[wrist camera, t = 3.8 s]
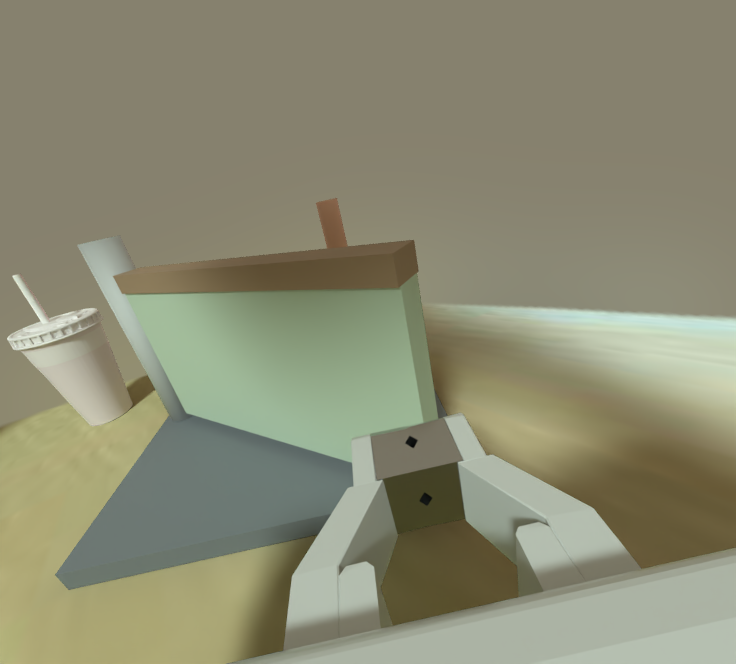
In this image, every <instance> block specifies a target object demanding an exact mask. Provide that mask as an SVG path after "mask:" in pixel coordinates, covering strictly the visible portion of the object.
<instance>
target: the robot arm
mask: <svg viewBox="0 0 736 664" xmlns="http://www.w3.org/2000/svg"><path fill="white" fill-rule="evenodd" d="M351 451H352V468H353V485H354V486H353V487H349V488H347V490H346V491H345V493H344V495H343V496H342V498H341V499H340V501H339V503H338V504H337V506H336V507H335V509H334V510H333V512H332V514H331V515H330V517H329V518H328V520H327V522H326V523H325V525H324V526H323V528H322V529H321V531H320V533H319V534H318V536H317V537H316V539H315V541H314V542H313V544H312V545H311V547H310V548H309V550H308V552H307V553H306V555H305V556H304V558H303V560H302V561H301V563H300V564H299V566H298V567H297V569H296V571H295V572H294V574H293V575H292V580H291V589H290V597H289V606H288V614H287V623H286V632H285V640H284V649H283V651H280V652H276V653H271V654H267V655H262V656H258V657H254V658H249V659H245V660H241V661H236V662H232V663H227V664H736V548H731V549H727V550H723V551H718V552H714V553H709V554H705V555H701V556H696V557H692V558H687V559H683V560H679V561H674V562H670V563H666V564H661V565H657V566H652V567H648V568H644V569H642V568H641V567H640V566H639V565H638V563H637V562H636V561H635V560H634V558H633V557H632V556H631V555H630V553H629V552H628V551H627V550H626V548H625V547H624V546H623V545H622V543H621V542H620V541H619V540H618V538H617V537H616V536H615V535H614V533H613V532H612V531H611V530H610V528H609V527H608V526H607V525H606V523H605V522H604V521H603V520H602V518H601V517H600V516H599V515H598V513H597V512H596V511H595V510H594V508H592V507H590V506H588V505H587V504H585V503H583V502H581V501H579V500H577V499H575V498H573V497H572V496H570V495H568V494H566V493H564V492H562V491H560V490H558V489H557V488H555V487H553V486H551V485H549V484H547V483H545V482H543V481H542V480H540V479H538V478H536V477H534V476H532V475H530V474H529V473H527V472H525V471H523V470H521V469H519V468H517V467H515V466H514V465H512V464H510V463H508V462H506V461H504V460H502V459H500V458H499V457H497V456H495V455H488V456H487V455H486V453H485V451H484V450H483V448H482V446H481V444H480V442H479V441H478V439H477V437H476V435H475V434H474V432H473V430H472V428H471V427H470V425H469V423H468V421H467V420H466V418H465V416H464V414H462V413H457V414H453V415H450V416H446V417H443V418H439V419H435V420H431V421H427V422H423V423H418V424H414V425H410V426H405V427H400V428H395V429H390V430H386V431H381V432H376V433H371V434H368V435H363V436H358V437H353V438H352V440H351ZM462 519H466V521H467V522H468V523H469V524H470V525H471V526H473V527H474V528H475V529H476V530H477V531H478V532H479V533H480V534H481V535H483V536H484V537H485V538H486V539H487V540H488V541H489V542H490V543H492V544H493V545H494V546H495V547H496V548H497V549H498V550H499V551H500V552H502V553H503V554H504V555H505V556H506V557H507V558H508V559H509V560H510V561H512V562H513V563H514V564H515V565H516V566H517V572H518V591H519V597H517V598H512V599H508V600H504V601H499V602H495V603H491V604H486V605H482V606H477V607H473V608H469V609H464V610H460V611H456V612H451V613H447V614H442V615H438V616H434V617H429V618H425V619H420V620H416V621H412V622H407V623H403V624H399V625H394V626H393V624H392V621H391V618H390V615H389V612H388V609H387V606H386V603H385V599H384V596H383V593H382V590H381V585H382V582H383V579H384V576H385V574H386V571H387V568H388V565H389V562H390V559H391V556H392V553H393V550H394V547H395V544H396V541H397V538H398V535H397V534H401V533H405V532H409V531H412V530H416V529H420V528H424V527H428V526H432V525H437V524H442V523H447V522H452V521H457V520H462Z"/></svg>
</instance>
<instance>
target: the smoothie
mask: <svg viewBox="0 0 736 664" xmlns="http://www.w3.org/2000/svg"><path fill="white" fill-rule="evenodd" d="M12 277H13V278H14V280H15V282H16V283H17V285H18V286H19V288H20V289H21V291H22V293H23V294H24V296H25V297H26V299H27V300H28V302H29V303H30V305H31V307H32V308H33V310H34V311H35V312H36V314H37V316H38V317H39V319H40V320H41V322H38V323H35V324H33V325H30V326H27V327H25V328H23V329H21V330H19V331H16V332H14V333H13V334H11V335H10V336H8V338H7V340H8V341H9V343H10V344H11V346H12V348H13V350H20V351H21V352H22V353H23V354H24V355H25V356H26V357H27V358H28V359H29V360H30V362H31V363H32V364H33V365H34V366H35V367H36V368H37V369H38V370H39V371H40V372H41V373H42V374H43V375H44V376H45V377H46V379H48V381H49V382H50V383H51V384H52V385H53V386H54V387H55V388H56V389H57V390H58V391H59V393H61V395H62V396H63V397H64V398H65V399H66V400H67V401H68V402H69V403H70V404H71V405H72V407H73V408H74V409H75V410H76V411H77V412H78V413H79V414H80V415H81V416H82V417H83V418H84V419H85V420H86V422H87V423H88V424H89V425H91V426H98V425H102V424H105V423H108V422H110V421H112V420H114V419H116V418H118V417H120V416H122V415H123V414H124V413H126V412H127V411H128V410H129V409H130V408H131V407H132V405H133V403H132V401H131V398H130V395H129V393H128V390H127V388H126V385H125V383H124V380H123V378H122V375H121V373H120V370H119V367H118V365H117V363H116V360H115V357H114V355H113V352H112V350H111V347H110V344H109V342H108V339H107V336H106V334H105V332H104V329H103V327H102V324H101V321H102V320H103V317H102V316H101V314H100V313H99V311H98V309H96V308H88V309H82V310H77V311H74V312H70V313H66V314H62V315H59V316H56V317H52V318H48V316H47V315H46V313H45V311H44V310H43V308H42V307H41V305H40V303H39V302H38V300H37V299H36V297H35V296H34V294H33V292H32V291H31V289H30V288H29V286H28V284H27V283H26V281H25V280H24V278H23V276H22V275H21V274H17V275H13V276H12Z"/></svg>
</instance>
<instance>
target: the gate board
mask: <svg viewBox="0 0 736 664" xmlns="http://www.w3.org/2000/svg"><path fill="white" fill-rule="evenodd" d="M316 205H317V209H318V212H319V217H320V221H321V225H322V229H323V233H324V236H325V241H326V244H327V249H328V248H338V247H348V246H347V241H346V237H345V233H344V229H343V224H342V219H341V215H340V210H339V206H338V201H337V198H335V199H329V200H325V201H321V202H317V203H316ZM77 246H78V247H79V249H80V251H81V253H82V255H83V257H84V259H85V260H86V262H87V264H88V266H89V268H90V270H91V272H92V273H93V275H94V277H95V279H96V281H97V282H98V285H99V286H100V288H101V290H102V292H103V294H104V296H105V297H106V299H107V301H108V303H109V305H110V307H111V309H112V310H113V312H114V314H115V316H116V318H117V320H118V321H119V323H120V325H121V327H122V329H123V330H124V333H125V334H126V336H127V338H128V340H129V342H130V343H131V345H132V347H133V349H134V351H135V353H136V355H137V357H138V358H139V360H140V362H141V364H142V366H143V367H144V369H145V371H146V373H147V375H148V377H149V379H150V380H151V382H152V384H153V386H154V388H155V390H156V392H157V393H158V395H159V397H160V399H161V401H162V403H163V404H164V406H165V408H166V410H167V412H168V414H169V417H168V418H167V419H166V421H165V422H164V424H163V425H162V426H161V428H160V429H159V431H158V432H157V433H156V435H155V436H154V438H153V439H152V440H151V442H150V443H149V445H148V446H147V447H146V449H145V450H144V452H143V453H142V454H141V456H140V457H139V459H138V460H137V461H136V463H135V464H134V466H133V467H132V468H131V470H130V471H129V473H128V474H127V475H126V477H125V478H124V479H123V481H122V482H121V484H120V485H119V486H118V488H117V489H116V491H115V492H114V493H113V495H112V496H111V498H110V499H109V500H108V502H107V503H106V505H105V506H104V507H103V509H102V510H101V512H100V513H99V514H98V516H97V517H96V519H95V520H94V521H93V523H92V524H91V526H90V527H89V528H88V530H87V531H86V533H85V534H84V535H83V537H82V538H81V540H80V541H79V542H78V544H77V545H76V546H75V548H74V549H73V551H72V552H71V553H70V555H69V556H68V558H67V559H66V560H65V562H64V563H63V565H62V566H61V567H60V569H59V570H58V572H57V573H56V574H55V576H56V577H57V578H58V579H59V580H60V581H61V582H62V583H63V584H64V585H65V586H66V587H67V588H68V590H70V589H74V588H79V587H83V586H88V585H92V584H97V583H101V582H106V581H110V580H115V579H119V578H124V577H128V576H133V575H137V574H142V573H146V572H151V571H155V570H160V569H164V568H169V567H173V566H178V565H182V564H187V563H191V562H196V561H200V560H205V559H209V558H214V557H218V556H223V555H227V554H232V553H236V552H241V551H245V550H250V549H254V548H259V547H263V546H268V545H272V544H277V543H281V542H286V541H290V540H295V539H299V538H304V537H308V536H313V535H317V534H319V533H320V531H321V529H322V528H323V526H324V525H325V523H326V522H327V520H328V518H329V517H330V515H331V514H332V512H333V510H334V509H335V507H336V506H337V504H338V503H339V501H340V499H341V498H342V496H343V495H344V493H345V491H346V490H347V488H349V487H353V486H354V485H353V468H352V463H351V462H348V461H344V460H341V459H338V458H334V457H331V456H328V455H324V454H321V453H318V452H314V451H311V450H308V449H304V448H301V447H298V446H294V445H291V444H288V443H284V442H281V441H278V440H274V439H271V438H268V437H264V436H261V435H258V434H254V433H251V432H248V431H244V430H241V429H238V428H234V427H231V426H228V425H224V424H221V423H218V422H214V421H211V420H208V419H204V418H201V417H198V416H194V415H191V414H188V413H186V412H185V410H184V408H183V406H182V404H181V402H180V400H179V398H178V396H177V394H176V392H175V390H174V388H173V386H172V385H171V383H170V381H169V379H168V377H167V375H166V373H165V371H164V369H163V367H162V365H161V363H160V361H159V359H158V357H157V355H156V353H155V352H154V350H153V348H152V346H151V344H150V342H149V340H148V338H147V336H146V334H145V332H144V330H143V328H142V326H141V324H140V322H139V320H138V319H137V317H136V315H135V313H134V311H133V309H132V307H131V305H130V303H129V301H128V299H127V297H126V295H125V294H122V293H121V291H120V289H119V287H118V285H117V283H116V281H115V279H114V278H113V276H114V275H118V274H121V273H124V272H127V271H130V270H134V269H136V268H135V265H134V263H133V261H132V259H131V257H130V255H129V253H128V251H127V249H126V247H125V245H124V243H123V241H122V239H121V237H120V236H115V237H111V238H106V239H101V240H97V241H92V242H88V243H84V244H79V245H77ZM434 392H435V389H434ZM435 399H436V406H437V413H438V419H439V418H443V417H446V416H447V414H446V412H445V410H444V408H443V406H442V404H441V402H440V400H439V398H438V396H437V394H436V392H435Z"/></svg>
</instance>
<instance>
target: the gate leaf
mask: <svg viewBox="0 0 736 664" xmlns="http://www.w3.org/2000/svg"><path fill="white" fill-rule="evenodd" d="M417 272H418V264H417V258H416V250H415V244H414V240H408V241H399V242H388V243H378V244H369V245H358V246H348V247H338V248H328V249H319V250H308V251H299V252H289V253H279V254H269V255H259V256H249V257H239V258H229V259H219V260H209V261H199V262H190V263H179V264H169V265H159V266H149V267H140V268H137V269H134V270H130V271H127V272H124V273H121V274H118V275H114V276H113V278H114V279H115V281H116V283H117V285H118V287H119V289H120V291H121V293H122V294H125V295H126V297H127V299H128V301H129V303H130V305H131V307H132V309H133V311H134V313H135V315H136V317H137V319H138V320H139V322H140V324H141V326H142V328H143V330H144V332H145V334H146V336H147V338H148V340H149V342H150V344H151V346H152V348H153V350H154V352H155V353H156V355H157V357H158V359H159V361H160V363H161V365H162V367H163V369H164V371H165V373H166V375H167V377H168V379H169V381H170V383H171V385H172V386H173V388H174V390H175V392H176V394H177V396H178V398H179V400H180V402H181V404H182V406H183V408H184V410H185V412H186V413H188V414H191V415H194V416H198V417H201V418H204V419H208V420H211V421H214V422H218V423H221V424H224V425H228V426H231V427H234V428H238V429H241V430H244V431H248V432H251V433H254V434H258V435H261V436H264V437H268V438H271V439H274V440H278V441H281V442H284V443H288V444H291V445H294V446H298V447H301V448H304V449H308V450H311V451H314V452H318V453H321V454H324V455H328V456H331V457H334V458H338V459H341V460H344V461H348V462H351V463H352V451H351V440H352V438H353V437H358V436H363V435H368V434H371V433H376V432H381V431H386V430H390V429H395V428H400V427H405V426H410V425H414V424H418V423H423V422H427V421H431V420H435V419H438V413H437V406H436V399H435V392H434V386H433V379H432V372H431V365H430V358H429V351H428V345H427V338H426V331H425V324H424V317H423V310H422V303H421V297H420V290H419V283H418V276H417Z"/></svg>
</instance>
